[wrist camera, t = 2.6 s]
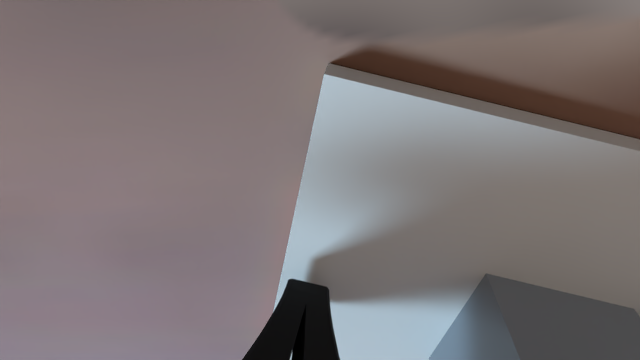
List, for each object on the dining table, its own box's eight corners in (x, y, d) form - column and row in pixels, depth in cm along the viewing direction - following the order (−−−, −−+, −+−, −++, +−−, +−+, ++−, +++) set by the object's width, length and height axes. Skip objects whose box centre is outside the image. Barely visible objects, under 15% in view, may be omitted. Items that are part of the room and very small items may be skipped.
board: (619, 432, 17) (635, 461, 16) (266, 349, 17) (259, 374, 16) (948, 214, 10) (1016, 243, 9) (328, 63, 10) (324, 74, 8)
